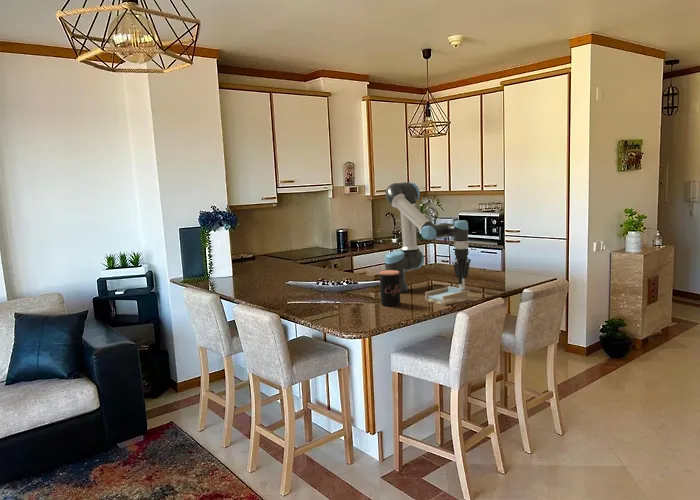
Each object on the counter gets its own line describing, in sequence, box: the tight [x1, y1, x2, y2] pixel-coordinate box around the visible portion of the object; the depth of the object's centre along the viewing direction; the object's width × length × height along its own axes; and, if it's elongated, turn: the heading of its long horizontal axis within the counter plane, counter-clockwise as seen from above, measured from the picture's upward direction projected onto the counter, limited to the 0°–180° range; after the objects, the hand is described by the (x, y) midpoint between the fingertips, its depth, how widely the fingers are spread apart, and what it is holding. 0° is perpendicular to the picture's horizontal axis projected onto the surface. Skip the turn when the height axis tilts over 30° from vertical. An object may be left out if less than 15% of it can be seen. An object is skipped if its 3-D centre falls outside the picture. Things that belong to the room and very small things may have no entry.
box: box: [424, 286, 468, 306], centre depth 295 cm, size 14×18×5 cm
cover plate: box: [428, 285, 464, 301], centre depth 295 cm, size 12×17×4 cm
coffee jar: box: [379, 270, 401, 307], centre depth 291 cm, size 11×11×18 cm
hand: (461, 289), depth 302 cm, fingers closed
